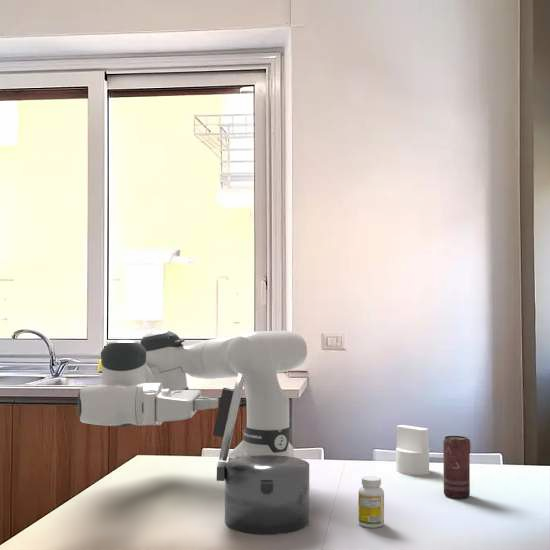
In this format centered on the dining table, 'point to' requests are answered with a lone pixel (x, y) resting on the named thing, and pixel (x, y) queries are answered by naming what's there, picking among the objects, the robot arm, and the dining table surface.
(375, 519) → the supplement bottle
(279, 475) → the cooker pot
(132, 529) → the dining table surface
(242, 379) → the cooker lid
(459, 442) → the can
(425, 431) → the white stacked block
